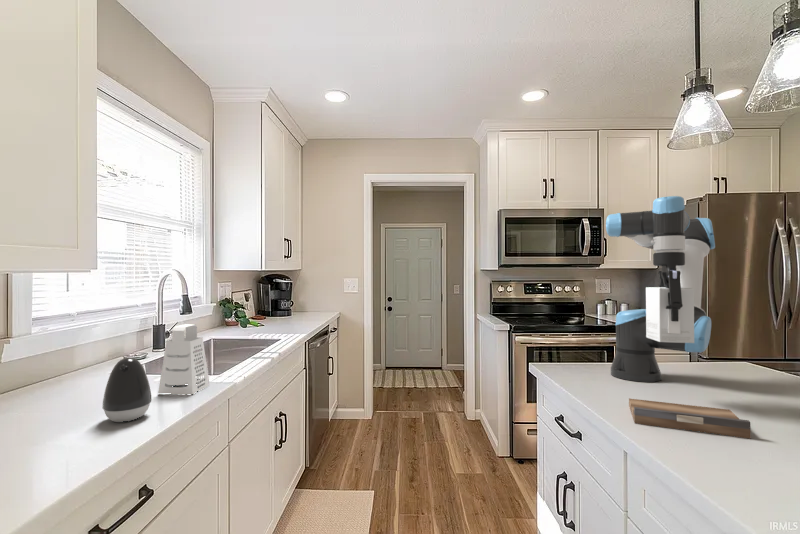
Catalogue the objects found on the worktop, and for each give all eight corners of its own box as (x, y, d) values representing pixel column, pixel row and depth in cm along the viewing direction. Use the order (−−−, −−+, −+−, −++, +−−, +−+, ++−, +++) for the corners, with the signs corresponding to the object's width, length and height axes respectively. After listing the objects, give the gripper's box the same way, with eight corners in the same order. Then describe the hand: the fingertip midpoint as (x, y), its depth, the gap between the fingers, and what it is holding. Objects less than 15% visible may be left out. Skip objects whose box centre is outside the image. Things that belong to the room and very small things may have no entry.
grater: (209, 385, 132) (210, 323, 132) (192, 395, 121) (192, 327, 121) (177, 385, 132) (177, 323, 132) (157, 395, 121) (158, 327, 122)
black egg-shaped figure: (96, 429, 95) (96, 363, 95) (109, 414, 105) (109, 355, 105) (146, 423, 99) (147, 360, 99) (154, 409, 108) (155, 352, 109)
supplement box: (695, 343, 110) (695, 288, 110) (659, 342, 111) (659, 287, 111) (678, 338, 119) (678, 286, 119) (645, 337, 120) (644, 286, 120)
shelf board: (628, 405, 111) (628, 392, 111) (729, 417, 101) (729, 403, 102) (634, 423, 98) (634, 408, 98) (751, 439, 88) (750, 422, 89)
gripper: (646, 253, 127) (646, 325, 127) (661, 250, 106) (662, 335, 106) (674, 253, 124) (675, 326, 124) (696, 249, 103) (697, 337, 103)
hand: (669, 330), depth 115 cm, fingers closed on supplement box, 10 cm apart
